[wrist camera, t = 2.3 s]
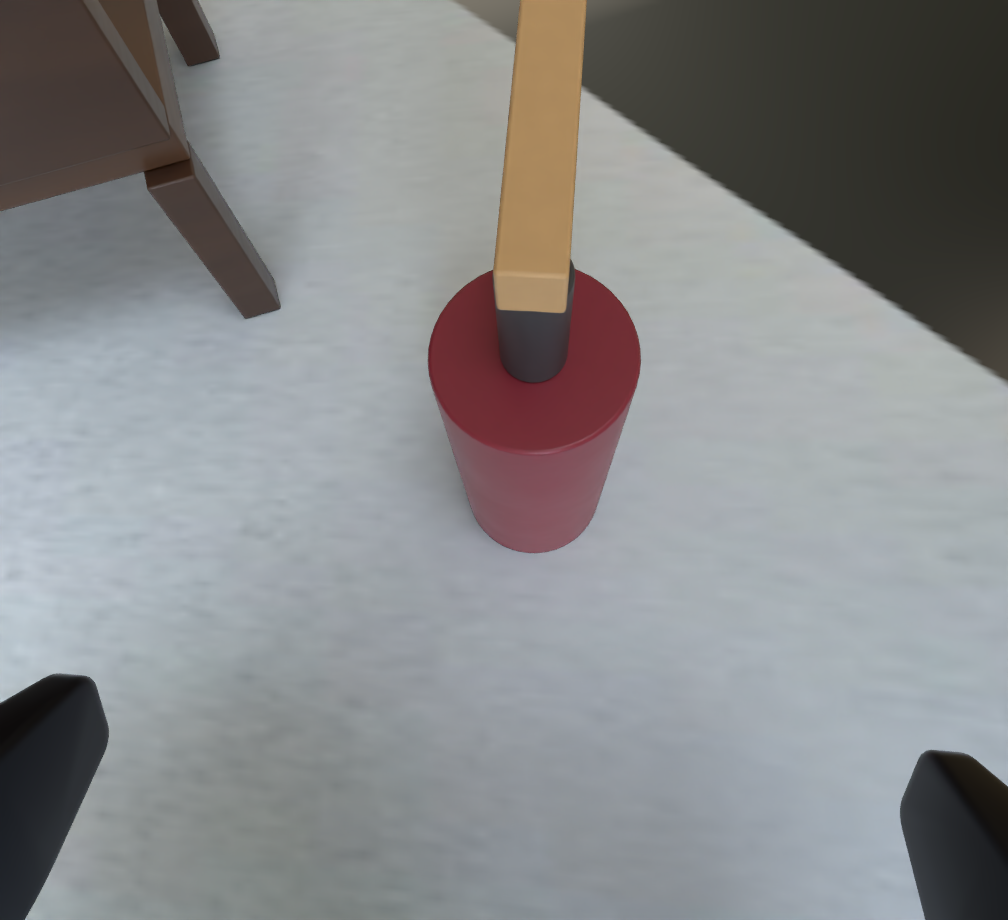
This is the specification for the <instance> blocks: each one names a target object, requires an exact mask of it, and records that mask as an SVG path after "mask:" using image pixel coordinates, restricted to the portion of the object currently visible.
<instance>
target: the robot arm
mask: <svg viewBox="0 0 1008 920" xmlns="http://www.w3.org/2000/svg"><path fill="white" fill-rule="evenodd" d="M108 738H109V728H108V723H107V720H106V717H105V713H104V710H103V707H102V703H101V700H100V697H99V693H98V690H97V687H96V684H95V682H94V681H93V680H92V679H91V678H90V677H87V676H82V675H71V674H52V675H49V676H47V677H45V678H43V679H41V680H40V681H38V682H36V683H34V684H33V685H31V686H29V687H27V688H26V689H24V690H22V691H20V692H19V693H17V694H15V695H13V696H12V697H10V698H8V699H7V700H5V701H3V702H1V703H0V920H25V918H26V916H27V915H28V913H29V911H30V909H31V907H32V906H33V904H34V902H35V900H36V898H37V896H38V895H39V893H40V891H41V889H42V887H43V885H44V883H45V881H46V879H47V877H48V875H49V873H50V871H51V869H52V867H53V865H54V863H55V861H56V858H57V856H58V854H59V852H60V850H61V847H62V845H63V843H64V841H65V839H66V836H67V834H68V832H69V830H70V828H71V825H72V823H73V821H74V819H75V816H76V814H77V812H78V810H79V808H80V805H81V803H82V801H83V799H84V797H85V794H86V792H87V790H88V788H89V786H90V783H91V781H92V779H93V777H94V775H95V772H96V770H97V768H98V766H99V764H100V761H101V759H102V757H103V755H104V752H105V750H106V747H107V743H108ZM900 819H901V825H902V830H903V834H904V838H905V842H906V846H907V849H908V853H909V857H910V861H911V865H912V869H913V873H914V877H915V881H916V885H917V889H918V893H919V897H920V901H921V905H922V908H923V912H924V916H925V920H1008V786H1006V785H1005V784H1004V783H1003V782H1002V781H1000V780H999V779H998V778H997V777H996V776H995V775H993V774H992V773H991V772H990V771H989V770H987V769H986V768H985V767H984V766H983V765H982V764H980V763H979V762H978V761H977V760H975V759H974V758H973V757H971V756H969V755H967V754H964V753H960V752H949V751H938V750H928V751H925V752H924V753H923V754H922V755H921V756H920V757H919V759H918V762H917V764H916V766H915V769H914V771H913V774H912V776H911V779H910V781H909V783H908V786H907V788H906V791H905V793H904V795H903V798H902V801H901V806H900Z"/></svg>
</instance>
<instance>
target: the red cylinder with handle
mask: <svg viewBox="0 0 1008 920" xmlns="http://www.w3.org/2000/svg"><path fill="white" fill-rule="evenodd" d="M586 3H587V0H520V7H519V17H518V27H517V37H516V47H515V57H514V67H513V77H512V87H511V97H510V107H509V117H508V127H507V137H506V147H505V157H504V168H503V178H502V188H501V198H500V208H499V218H498V228H497V238H496V248H495V258H494V268H493V270H491V271H489V272H487V273H485V274H483V275H481V276H479V277H477V278H476V279H474V280H473V281H471V282H470V283H468V284H467V285H466V286H464V287H463V288H462V289H461V290H460V291H459V292H457V293H456V295H455V296H454V297H453V298H452V299H451V300H450V301H449V302H448V304H447V305H446V307H445V308H444V310H443V311H442V312H441V314H440V316H439V318H438V320H437V322H436V324H435V326H434V329H433V332H432V335H431V338H430V344H429V349H428V370H429V377H430V381H431V385H432V389H433V392H434V395H435V398H436V401H437V404H438V407H439V410H440V413H441V416H442V419H443V422H444V426H445V429H446V432H447V435H448V438H449V441H450V444H451V447H452V450H453V453H454V456H455V459H456V463H457V466H458V469H459V472H460V475H461V478H462V481H463V484H464V487H465V490H466V493H467V496H468V499H469V503H470V506H471V509H472V511H473V514H474V516H475V518H476V520H477V522H478V523H479V525H480V526H481V527H482V529H483V530H484V531H485V532H486V533H487V534H488V535H489V536H490V537H491V538H492V539H494V540H495V541H496V542H498V543H500V544H501V545H503V546H505V547H507V548H510V549H512V550H516V551H520V552H526V553H541V552H548V551H552V550H555V549H558V548H560V547H563V546H565V545H566V544H568V543H570V542H571V541H573V540H574V539H575V538H577V537H578V536H579V535H580V534H581V533H582V532H583V531H584V530H585V528H586V527H587V526H588V524H589V523H590V521H591V519H592V518H593V515H594V513H595V510H596V508H597V504H598V501H599V498H600V495H601V492H602V489H603V486H604V483H605V480H606V477H607V474H608V471H609V468H610V465H611V462H612V459H613V456H614V453H615V450H616V447H617V444H618V441H619V438H620V435H621V432H622V429H623V426H624V423H625V420H626V417H627V414H628V411H629V407H630V404H631V401H632V398H633V395H634V392H635V389H636V386H637V382H638V378H639V374H640V365H641V354H640V345H639V339H638V335H637V332H636V329H635V326H634V324H633V322H632V320H631V318H630V316H629V314H628V312H627V311H626V309H625V308H624V306H623V305H622V303H621V302H620V301H619V300H618V299H617V297H616V296H615V295H614V294H613V293H612V292H611V291H610V290H609V289H607V288H606V287H605V286H604V285H603V284H601V283H600V282H598V281H597V280H595V279H594V278H592V277H591V276H589V275H587V274H585V273H583V272H581V271H578V270H576V269H574V265H573V263H572V261H571V259H570V254H571V238H572V222H573V207H574V191H575V175H576V160H577V144H578V128H579V113H580V97H581V81H582V66H583V49H584V34H585V17H586Z"/></svg>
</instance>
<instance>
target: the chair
mask: <svg viewBox="0 0 1008 920" xmlns="http://www.w3.org/2000/svg"><path fill="white" fill-rule="evenodd" d="M160 16H161V17H162V19H163V21H164V23H165V25H166V27H167V28H168V30H169V32H170V34H171V36H172V38H173V39H174V41H175V43H176V45H177V47H178V49H179V50H180V52H181V54H182V56H183V58H184V60H185V61H186V63H187V65H188V66H191V65H195V64H199V63H202V62H206V61H210V60H213V59H217V58H219V52H218V48H217V44H216V40H215V36H214V33H213V31H212V29H211V27H210V25H209V23H208V21H207V18H206V16H205V14H204V12H203V10H202V8H201V6H200V4H199V2H198V0H0V211H3V210H7V209H10V208H14V207H18V206H21V205H25V204H29V203H32V202H36V201H39V200H43V199H47V198H50V197H54V196H57V195H61V194H65V193H68V192H72V191H76V190H79V189H83V188H86V187H90V186H94V185H97V184H101V183H104V182H108V181H112V180H115V179H119V178H123V177H126V176H130V175H133V174H137V173H141V172H144V174H145V180H146V185H147V189H148V191H149V192H150V193H151V195H152V196H153V197H154V199H155V200H156V201H157V203H158V204H159V205H160V207H161V208H162V209H163V211H164V212H165V213H166V215H167V216H168V217H169V219H170V220H171V221H172V222H173V224H174V225H175V226H176V228H177V229H178V230H179V232H180V233H181V234H182V236H183V237H184V238H185V240H186V241H187V242H188V244H189V245H190V246H191V248H192V249H193V250H194V252H195V253H196V254H197V256H198V257H199V258H200V259H201V261H202V262H203V263H204V265H205V266H206V267H207V269H208V270H209V271H210V273H211V274H212V275H213V277H214V278H215V279H216V281H217V282H218V283H219V285H220V286H221V287H222V289H223V290H224V291H225V293H226V294H227V295H228V296H229V298H230V299H231V300H232V302H233V303H234V304H235V306H236V307H237V308H238V310H239V311H240V312H241V314H242V315H243V316H244V318H250V317H253V316H257V315H260V314H264V313H267V312H270V311H274V310H277V309H280V303H279V299H278V295H277V291H276V287H275V283H274V279H273V277H272V276H271V274H270V272H269V271H268V269H267V268H266V266H265V264H264V263H263V261H262V260H261V258H260V256H259V255H258V253H257V251H256V250H255V248H254V247H253V245H252V243H251V242H250V240H249V238H248V237H247V235H246V234H245V232H244V230H243V229H242V227H241V226H240V224H239V222H238V221H237V219H236V217H235V216H234V214H233V213H232V211H231V209H230V208H229V206H228V205H227V203H226V201H225V200H224V198H223V196H222V195H221V193H220V192H219V190H218V188H217V187H216V185H215V183H214V182H213V180H212V179H211V177H210V175H209V174H208V172H207V171H206V169H205V167H204V166H203V164H202V162H201V161H200V159H199V158H198V156H197V154H196V153H195V151H194V150H193V148H192V146H191V145H190V143H189V142H188V141H187V139H186V134H185V130H184V125H183V121H182V116H181V111H180V107H179V102H178V97H177V93H176V88H175V83H174V79H173V74H172V69H171V65H170V60H169V56H168V51H167V46H166V42H165V37H164V32H163V28H162V23H161V18H160Z"/></svg>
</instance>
